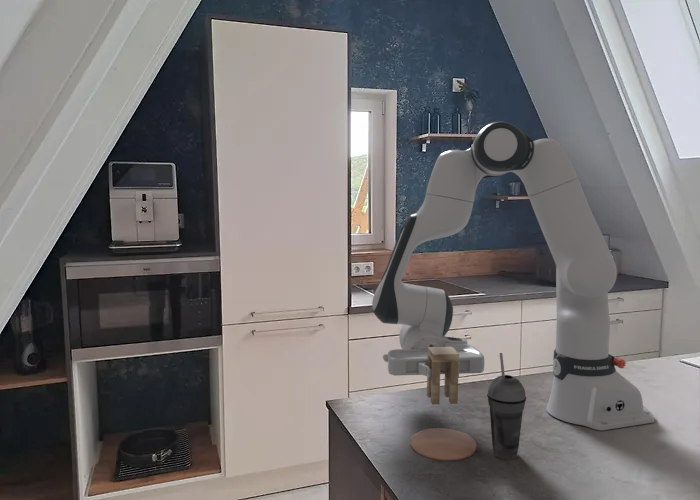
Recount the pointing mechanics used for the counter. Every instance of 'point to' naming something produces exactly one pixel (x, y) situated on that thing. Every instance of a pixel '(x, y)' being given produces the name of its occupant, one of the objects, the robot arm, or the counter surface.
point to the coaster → (443, 444)
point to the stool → (451, 373)
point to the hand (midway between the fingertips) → (443, 374)
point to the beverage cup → (506, 413)
